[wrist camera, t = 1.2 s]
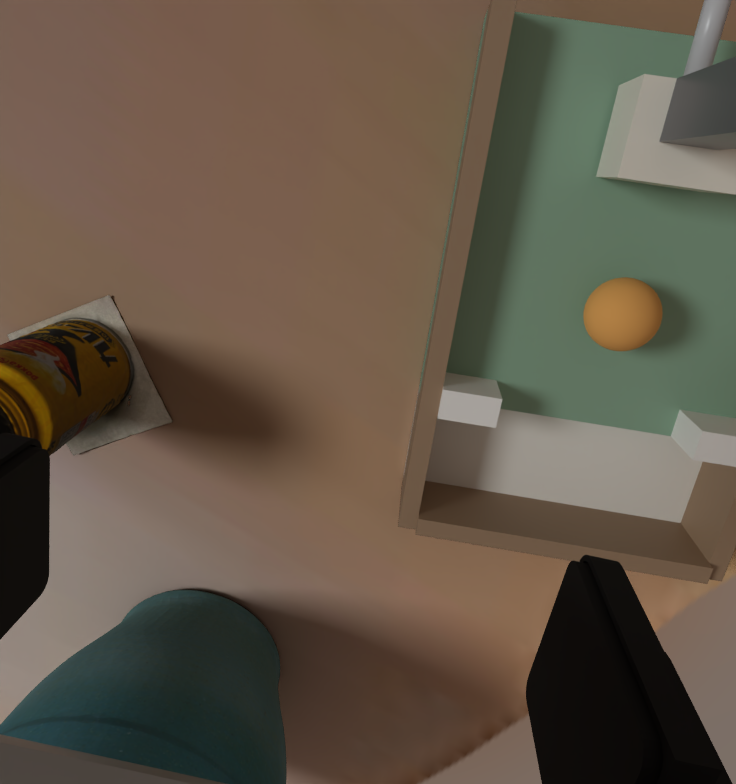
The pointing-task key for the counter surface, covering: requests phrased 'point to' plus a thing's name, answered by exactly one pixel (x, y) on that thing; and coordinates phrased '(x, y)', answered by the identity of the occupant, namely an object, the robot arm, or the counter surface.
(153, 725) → the flower pot
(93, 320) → the condiment
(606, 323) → the ball
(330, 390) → the counter surface
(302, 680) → the counter surface
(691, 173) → the striker
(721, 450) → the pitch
